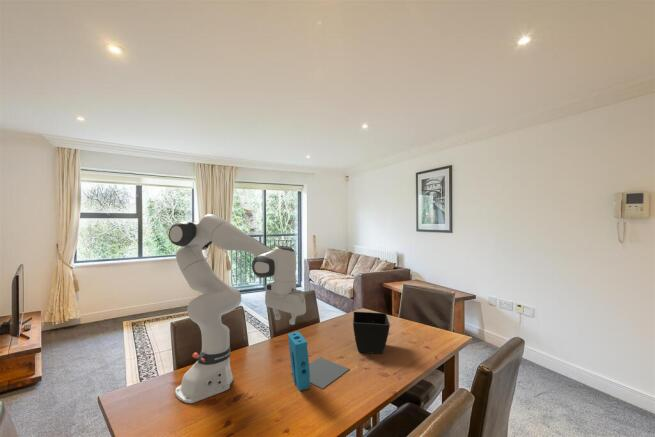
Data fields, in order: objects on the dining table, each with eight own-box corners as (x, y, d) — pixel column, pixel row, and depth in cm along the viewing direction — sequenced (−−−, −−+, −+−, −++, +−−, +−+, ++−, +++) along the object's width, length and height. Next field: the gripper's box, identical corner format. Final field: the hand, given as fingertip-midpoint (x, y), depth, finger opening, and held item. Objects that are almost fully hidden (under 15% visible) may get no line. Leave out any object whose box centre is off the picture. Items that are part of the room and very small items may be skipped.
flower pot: (386, 341, 165) (386, 312, 165) (390, 357, 146) (390, 324, 146) (353, 340, 167) (353, 311, 167) (352, 355, 148) (353, 322, 148)
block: (312, 389, 117) (307, 341, 116) (300, 393, 115) (295, 345, 114) (302, 374, 128) (298, 331, 127) (291, 378, 126) (287, 334, 125)
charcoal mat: (322, 389, 118) (322, 388, 118) (291, 374, 129) (291, 373, 129) (349, 369, 134) (349, 368, 134) (320, 357, 145) (320, 357, 145)
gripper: (309, 289, 110) (309, 325, 110) (274, 282, 123) (274, 314, 123) (298, 292, 105) (298, 330, 105) (262, 284, 118) (262, 318, 118)
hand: (284, 321), depth 114 cm, fingers open, 7 cm apart
